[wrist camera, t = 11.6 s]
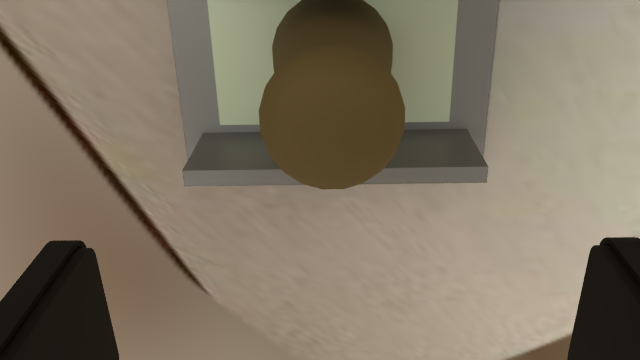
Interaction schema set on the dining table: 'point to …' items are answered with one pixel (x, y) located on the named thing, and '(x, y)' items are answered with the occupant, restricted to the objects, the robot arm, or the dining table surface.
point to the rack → (407, 69)
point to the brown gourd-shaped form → (332, 95)
